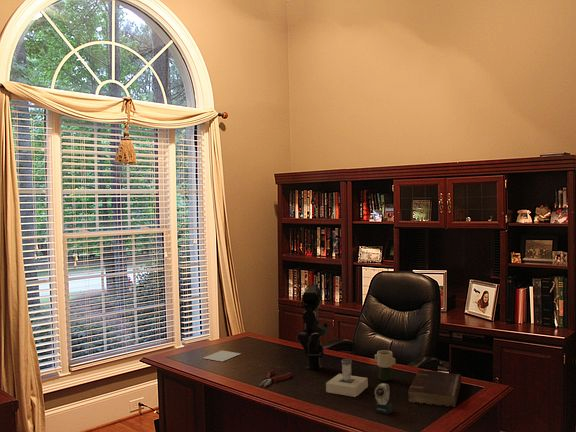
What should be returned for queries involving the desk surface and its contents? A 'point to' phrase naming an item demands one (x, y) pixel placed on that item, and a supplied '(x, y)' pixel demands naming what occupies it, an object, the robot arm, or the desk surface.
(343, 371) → the steel pin
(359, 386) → the block
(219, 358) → the paper stack
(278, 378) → the pliers
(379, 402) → the watch
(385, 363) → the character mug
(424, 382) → the hardback book
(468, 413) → the desk surface
